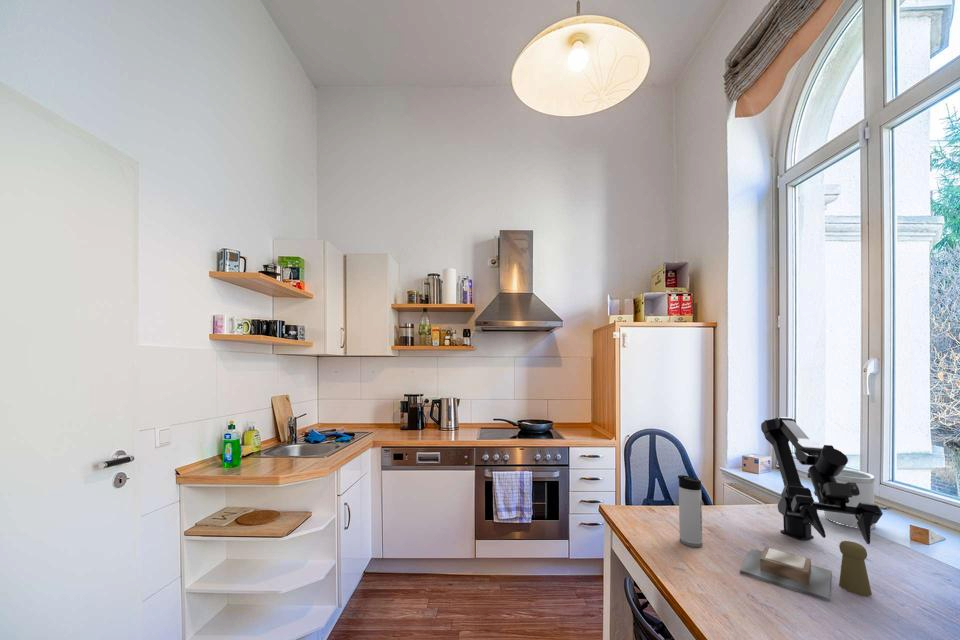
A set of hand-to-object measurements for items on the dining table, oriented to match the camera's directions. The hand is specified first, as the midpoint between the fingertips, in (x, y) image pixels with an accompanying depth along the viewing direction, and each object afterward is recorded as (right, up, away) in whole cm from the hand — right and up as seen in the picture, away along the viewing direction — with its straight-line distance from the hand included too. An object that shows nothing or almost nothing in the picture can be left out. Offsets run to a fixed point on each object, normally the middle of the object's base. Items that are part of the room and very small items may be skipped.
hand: (846, 540), depth 106 cm
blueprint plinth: (-14, -10, +2) cm, 17 cm away
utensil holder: (+38, -16, +41) cm, 58 cm away
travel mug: (-31, -12, +19) cm, 38 cm away
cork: (-2, -10, -4) cm, 11 cm away
